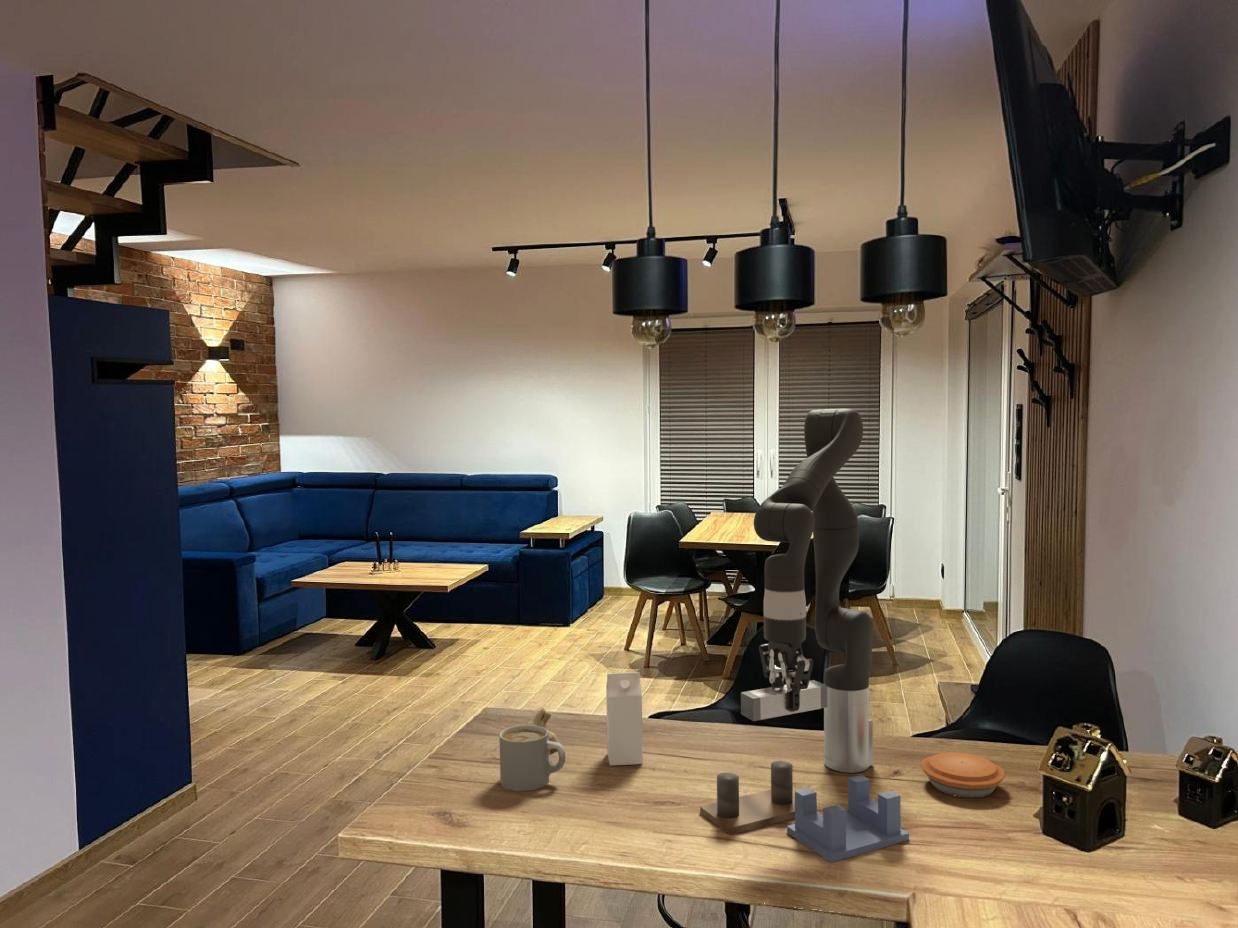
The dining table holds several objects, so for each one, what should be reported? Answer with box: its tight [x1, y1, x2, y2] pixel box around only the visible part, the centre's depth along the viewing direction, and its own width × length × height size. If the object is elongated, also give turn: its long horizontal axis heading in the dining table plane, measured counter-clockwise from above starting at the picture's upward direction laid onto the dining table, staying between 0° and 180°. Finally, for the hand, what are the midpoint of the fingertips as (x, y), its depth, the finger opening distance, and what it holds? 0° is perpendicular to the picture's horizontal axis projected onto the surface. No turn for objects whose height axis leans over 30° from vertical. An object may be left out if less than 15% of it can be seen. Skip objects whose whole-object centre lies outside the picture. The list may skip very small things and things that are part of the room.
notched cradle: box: [786, 774, 910, 863], centre depth 154 cm, size 17×12×8 cm
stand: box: [699, 760, 795, 836], centre depth 163 cm, size 18×10×8 cm, turn 116°
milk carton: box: [605, 671, 644, 766], centre depth 190 cm, size 7×7×19 cm
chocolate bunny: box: [525, 707, 561, 754], centre depth 196 cm, size 6×8×10 cm
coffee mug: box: [499, 724, 566, 792], centre depth 179 cm, size 13×10×10 cm
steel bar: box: [740, 679, 827, 722], centre depth 159 cm, size 16×4×4 cm, turn 114°
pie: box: [920, 751, 1006, 799], centre depth 174 cm, size 15×16×5 cm
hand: (785, 706), depth 159 cm, fingers closed on steel bar, 4 cm apart
